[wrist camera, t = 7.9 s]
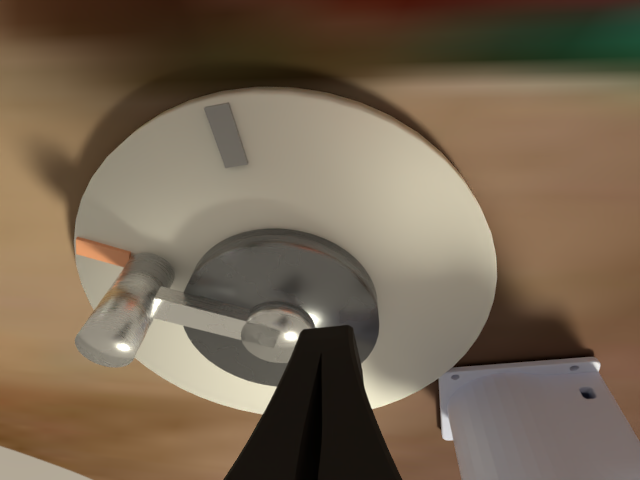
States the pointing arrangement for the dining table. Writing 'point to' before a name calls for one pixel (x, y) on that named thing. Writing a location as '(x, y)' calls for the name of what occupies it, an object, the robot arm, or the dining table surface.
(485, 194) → the dining table surface
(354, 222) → the dial plate
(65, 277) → the dining table surface
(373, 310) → the dial
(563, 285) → the dining table surface
